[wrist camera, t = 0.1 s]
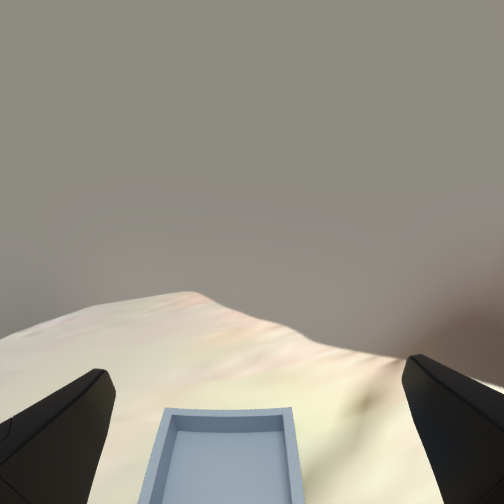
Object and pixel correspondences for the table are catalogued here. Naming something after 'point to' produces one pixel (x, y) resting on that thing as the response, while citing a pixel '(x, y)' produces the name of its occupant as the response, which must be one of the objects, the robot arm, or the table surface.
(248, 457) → the tray
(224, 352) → the table surface
